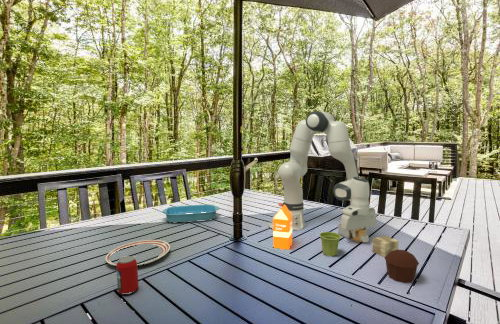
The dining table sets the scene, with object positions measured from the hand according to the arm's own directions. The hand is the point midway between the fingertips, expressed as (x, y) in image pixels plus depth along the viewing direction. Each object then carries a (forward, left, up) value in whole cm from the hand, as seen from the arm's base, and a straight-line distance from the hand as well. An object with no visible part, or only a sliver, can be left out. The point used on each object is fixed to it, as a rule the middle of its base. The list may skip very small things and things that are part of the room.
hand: (358, 235), depth 142 cm
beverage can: (-108, -2, -3) cm, 108 cm away
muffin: (-12, -34, -3) cm, 36 cm away
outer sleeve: (0, +7, -3) cm, 8 cm away
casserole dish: (-71, +76, -3) cm, 104 cm away
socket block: (0, -16, -3) cm, 17 cm away
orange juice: (-38, +11, -3) cm, 40 cm away
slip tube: (0, +5, -2) cm, 5 cm away
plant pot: (-23, -6, -3) cm, 24 cm away
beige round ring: (-104, +27, -3) cm, 107 cm away
